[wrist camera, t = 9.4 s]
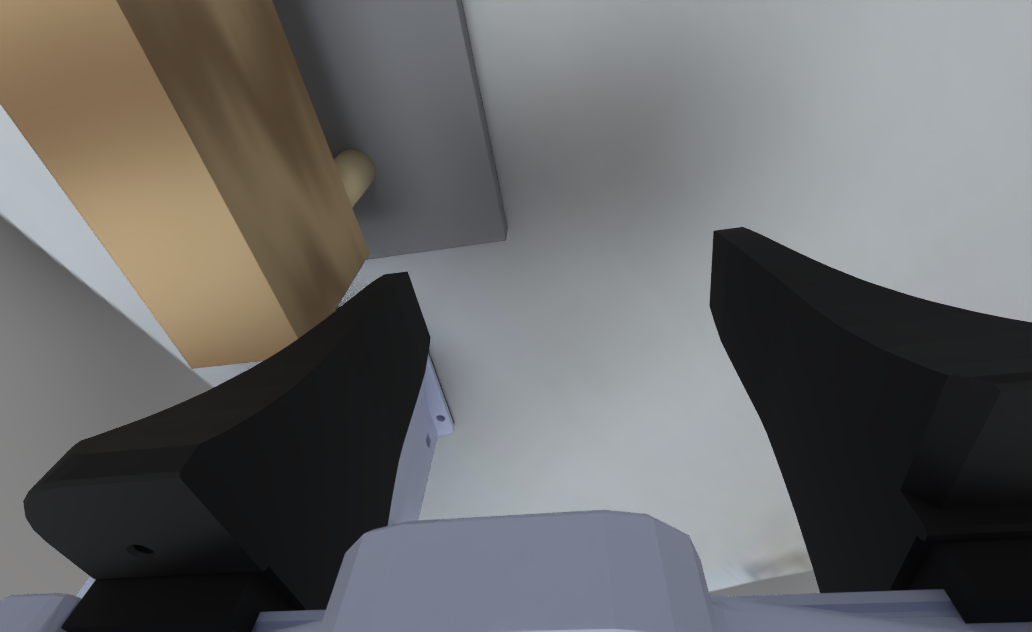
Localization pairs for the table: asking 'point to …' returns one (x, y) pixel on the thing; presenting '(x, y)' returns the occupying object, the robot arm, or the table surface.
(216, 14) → the oak bar
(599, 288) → the table surface
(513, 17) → the table surface
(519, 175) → the table surface
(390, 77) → the peg stand
